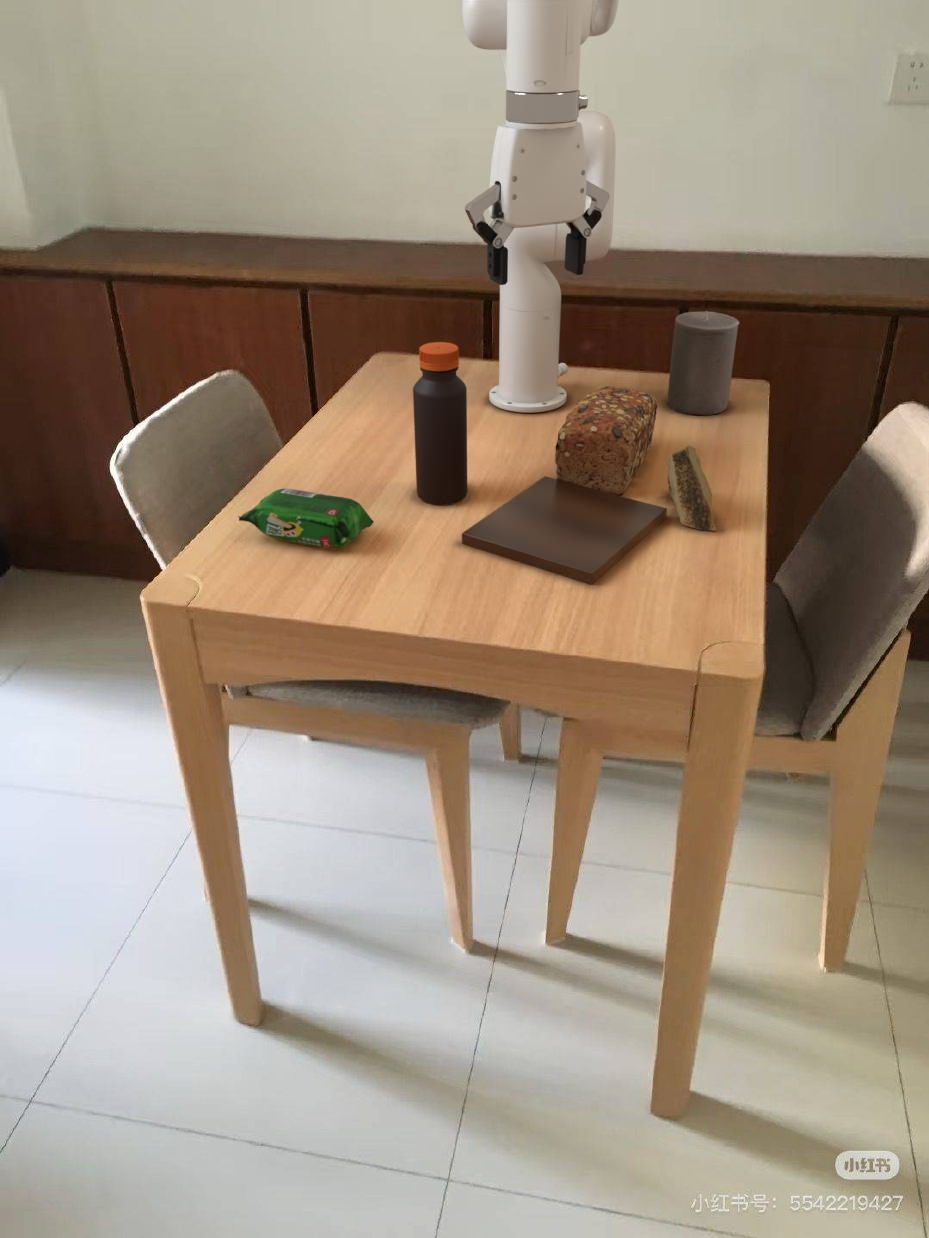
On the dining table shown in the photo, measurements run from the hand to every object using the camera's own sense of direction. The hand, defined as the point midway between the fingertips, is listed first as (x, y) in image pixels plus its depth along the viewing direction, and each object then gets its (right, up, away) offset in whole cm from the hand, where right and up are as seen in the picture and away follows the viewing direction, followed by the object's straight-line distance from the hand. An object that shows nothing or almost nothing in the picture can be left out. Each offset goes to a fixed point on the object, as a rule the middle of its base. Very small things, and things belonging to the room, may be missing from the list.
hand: (536, 277), depth 116 cm
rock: (+21, -25, +16) cm, 37 cm away
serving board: (+4, -28, +12) cm, 31 cm away
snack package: (-28, -29, +11) cm, 41 cm away
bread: (+12, -18, +28) cm, 35 cm away
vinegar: (-11, -22, +21) cm, 33 cm away
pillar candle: (+29, -4, +49) cm, 57 cm away
